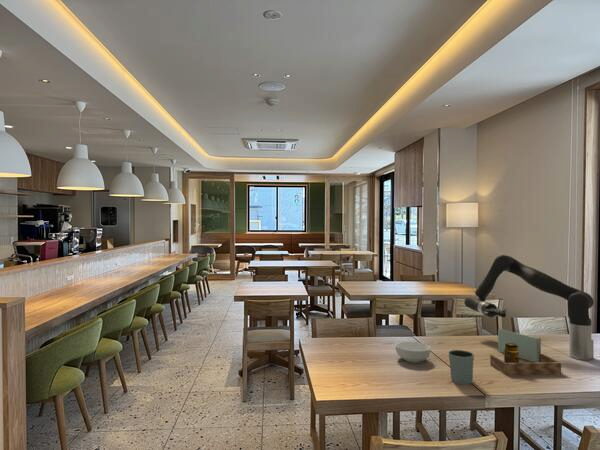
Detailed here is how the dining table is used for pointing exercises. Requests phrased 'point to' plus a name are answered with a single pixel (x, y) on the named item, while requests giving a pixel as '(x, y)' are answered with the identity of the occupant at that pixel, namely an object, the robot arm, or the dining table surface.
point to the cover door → (521, 344)
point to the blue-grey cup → (461, 366)
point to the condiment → (511, 353)
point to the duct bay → (527, 366)
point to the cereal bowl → (413, 351)
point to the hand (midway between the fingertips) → (504, 315)
